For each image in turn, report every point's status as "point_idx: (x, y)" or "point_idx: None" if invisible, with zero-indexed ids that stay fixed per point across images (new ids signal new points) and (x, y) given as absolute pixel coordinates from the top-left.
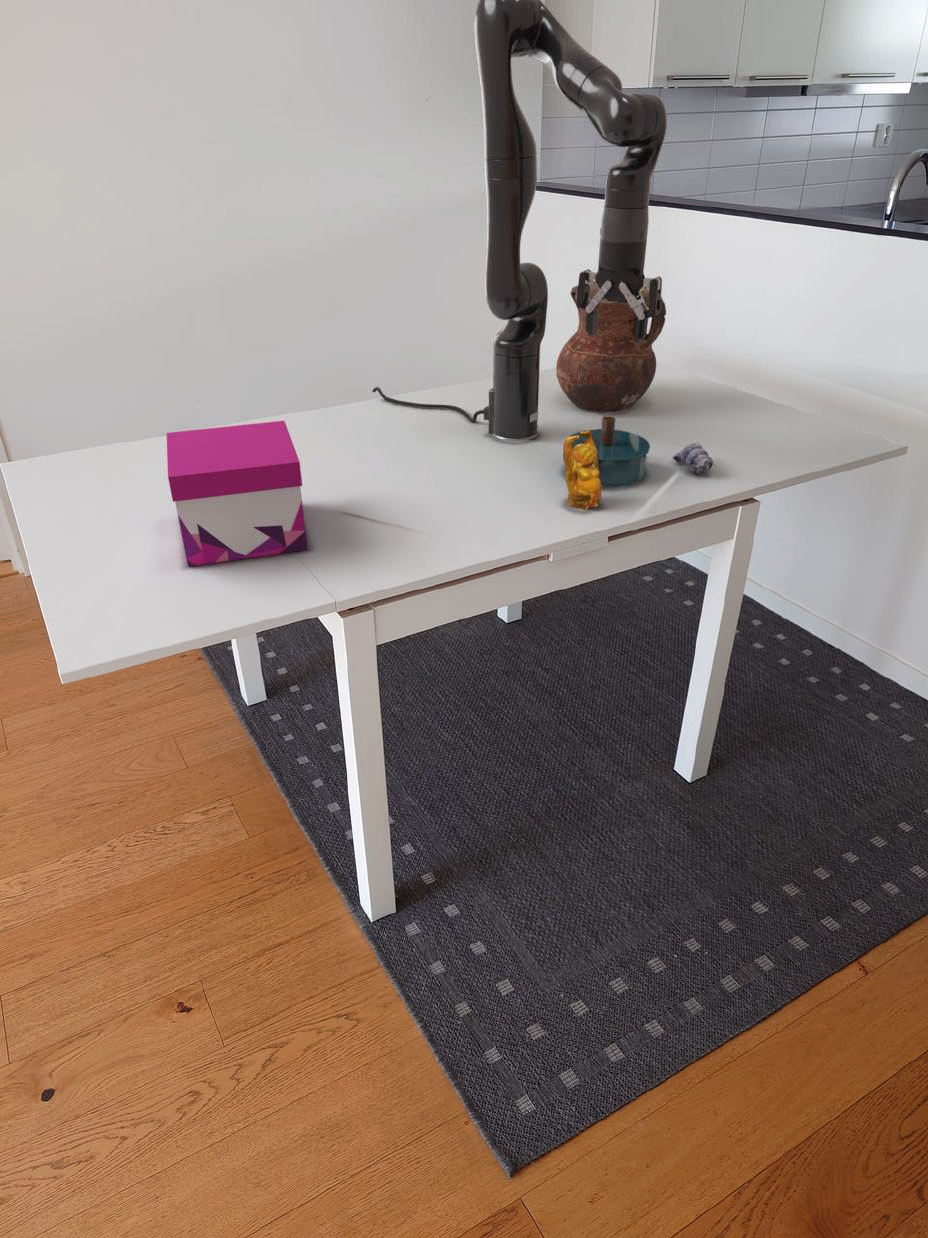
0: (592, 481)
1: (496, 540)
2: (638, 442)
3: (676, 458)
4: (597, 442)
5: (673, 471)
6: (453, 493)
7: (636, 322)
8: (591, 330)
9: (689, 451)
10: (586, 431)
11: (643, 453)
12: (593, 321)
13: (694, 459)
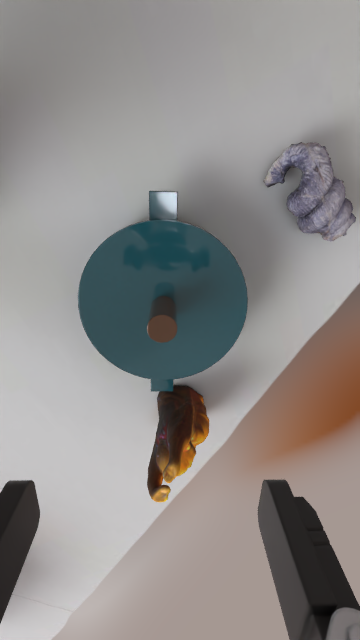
0: (199, 443)
1: (131, 505)
2: (218, 273)
3: (272, 184)
4: (144, 310)
5: (271, 222)
6: (12, 440)
7: (288, 630)
8: (28, 547)
9: (310, 210)
10: (174, 475)
11: (243, 322)
12: (7, 591)
13: (320, 230)
